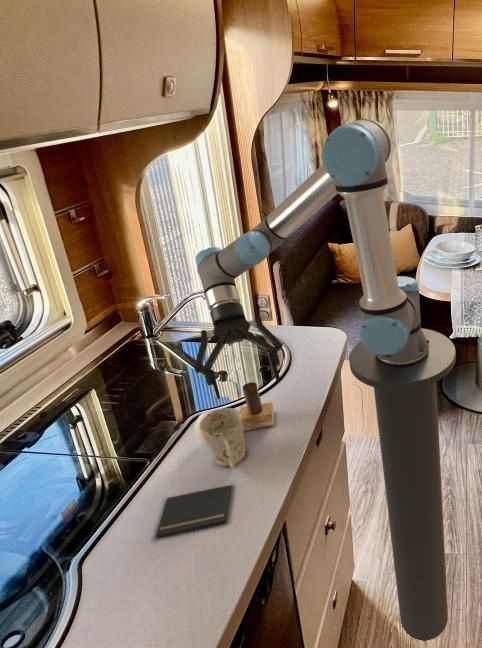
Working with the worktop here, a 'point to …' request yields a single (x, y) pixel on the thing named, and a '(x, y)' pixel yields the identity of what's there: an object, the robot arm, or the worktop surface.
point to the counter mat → (194, 511)
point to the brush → (255, 409)
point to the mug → (224, 435)
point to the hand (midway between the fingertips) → (249, 388)
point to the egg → (197, 428)
